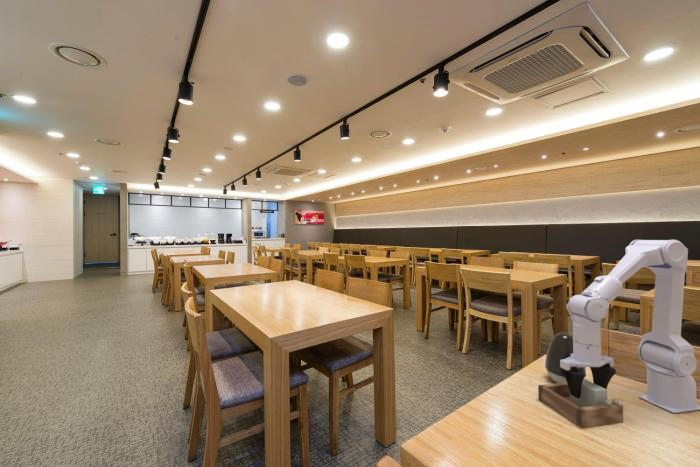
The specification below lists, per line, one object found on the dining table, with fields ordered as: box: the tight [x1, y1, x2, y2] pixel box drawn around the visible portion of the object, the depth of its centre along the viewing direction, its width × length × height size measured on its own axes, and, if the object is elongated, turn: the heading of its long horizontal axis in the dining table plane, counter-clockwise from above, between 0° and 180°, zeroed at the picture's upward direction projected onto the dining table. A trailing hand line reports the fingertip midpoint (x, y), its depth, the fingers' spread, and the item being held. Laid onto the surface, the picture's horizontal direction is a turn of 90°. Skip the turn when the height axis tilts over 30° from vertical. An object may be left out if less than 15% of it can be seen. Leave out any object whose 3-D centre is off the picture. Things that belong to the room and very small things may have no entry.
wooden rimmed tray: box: [537, 382, 624, 429], centre depth 76 cm, size 12×12×5 cm
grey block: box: [570, 378, 608, 407], centre depth 77 cm, size 4×7×6 cm, turn 10°
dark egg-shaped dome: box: [544, 332, 587, 383], centre depth 91 cm, size 10×10×15 cm
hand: (587, 394), depth 77 cm, fingers open, 7 cm apart
